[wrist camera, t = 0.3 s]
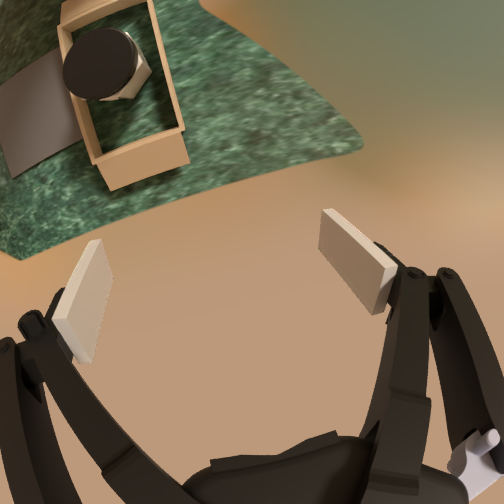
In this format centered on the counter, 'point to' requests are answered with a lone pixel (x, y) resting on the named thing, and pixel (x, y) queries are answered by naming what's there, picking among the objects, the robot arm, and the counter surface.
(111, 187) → the carton
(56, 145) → the mat
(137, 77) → the jar
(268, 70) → the counter surface
